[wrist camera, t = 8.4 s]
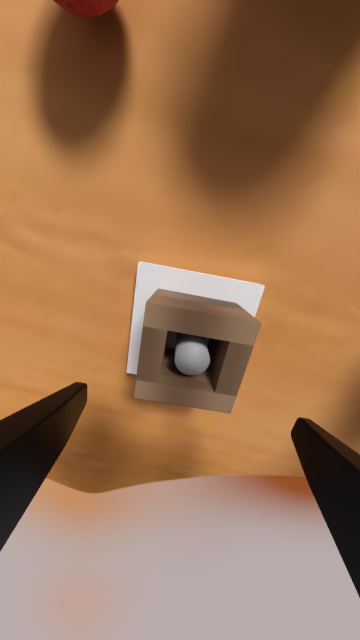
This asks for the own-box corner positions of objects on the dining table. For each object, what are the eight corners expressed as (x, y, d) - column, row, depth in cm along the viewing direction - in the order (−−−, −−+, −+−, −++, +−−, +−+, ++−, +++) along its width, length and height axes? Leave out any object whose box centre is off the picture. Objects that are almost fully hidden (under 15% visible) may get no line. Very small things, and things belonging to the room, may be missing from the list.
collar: (236, 302, 15) (261, 323, 10) (217, 370, 17) (230, 413, 12) (158, 288, 15) (146, 302, 10) (147, 358, 17) (133, 398, 12)
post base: (259, 283, 16) (299, 296, 10) (228, 382, 19) (246, 432, 13) (141, 261, 15) (118, 262, 10) (130, 365, 18) (107, 410, 13)
